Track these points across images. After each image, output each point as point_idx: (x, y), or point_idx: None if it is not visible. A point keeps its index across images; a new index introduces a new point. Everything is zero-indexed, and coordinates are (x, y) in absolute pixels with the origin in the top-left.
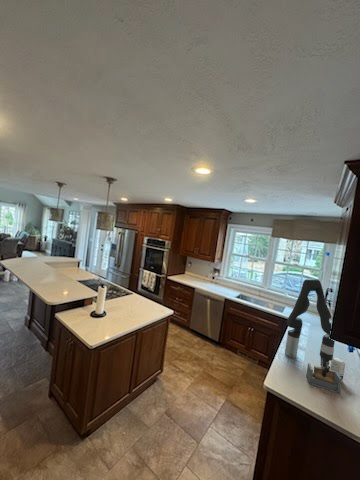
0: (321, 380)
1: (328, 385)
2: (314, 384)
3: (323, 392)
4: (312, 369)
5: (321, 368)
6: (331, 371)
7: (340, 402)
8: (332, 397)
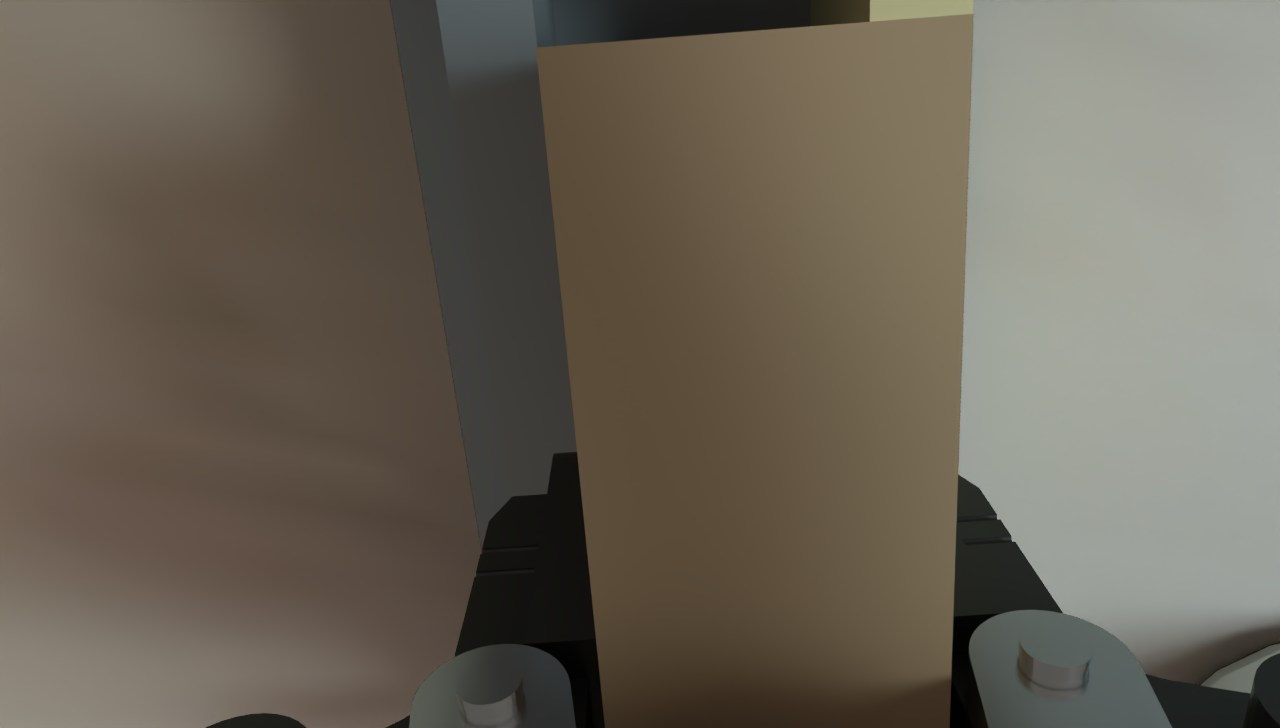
0: (521, 346)
1: None
2: (402, 37)
3: (188, 297)
4: None
5: (718, 636)
6: None
7: (66, 657)
8: (134, 510)
